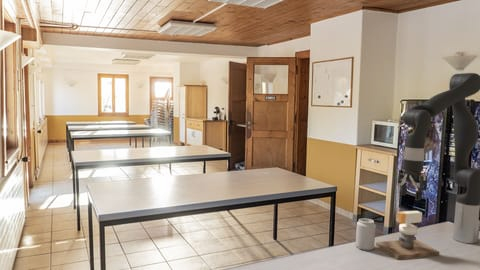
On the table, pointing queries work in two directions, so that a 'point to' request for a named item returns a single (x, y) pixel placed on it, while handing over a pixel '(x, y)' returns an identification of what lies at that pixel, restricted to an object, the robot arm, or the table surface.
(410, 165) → the robot arm
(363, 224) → the can
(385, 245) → the lock base
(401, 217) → the twist knob
